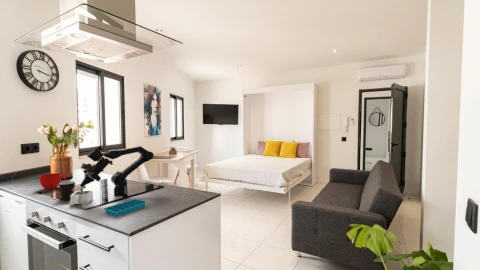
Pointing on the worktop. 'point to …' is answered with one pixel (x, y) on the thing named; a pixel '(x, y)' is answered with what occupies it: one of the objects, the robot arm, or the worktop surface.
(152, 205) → the worktop surface
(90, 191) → the press body
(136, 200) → the ice cube tray
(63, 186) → the coffee mug
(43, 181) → the ceramic cup
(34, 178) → the worktop surface
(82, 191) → the plunger
